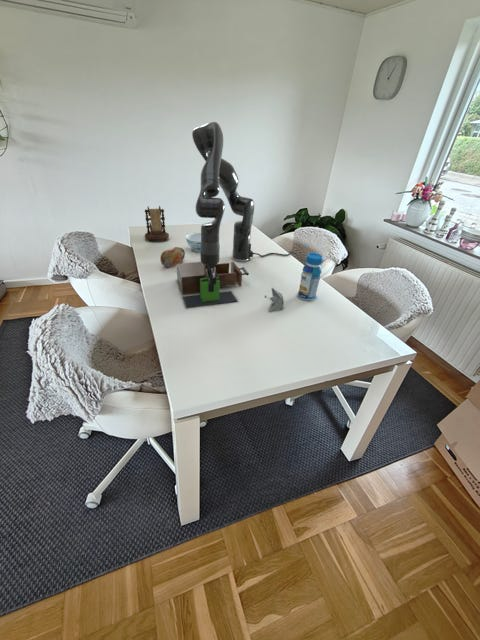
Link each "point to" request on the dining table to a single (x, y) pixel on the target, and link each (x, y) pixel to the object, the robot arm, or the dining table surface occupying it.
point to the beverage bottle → (310, 277)
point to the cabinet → (190, 277)
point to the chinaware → (194, 241)
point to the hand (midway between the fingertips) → (209, 288)
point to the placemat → (196, 301)
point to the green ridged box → (204, 292)
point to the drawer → (229, 274)
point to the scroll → (155, 225)
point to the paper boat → (276, 300)
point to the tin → (172, 256)
